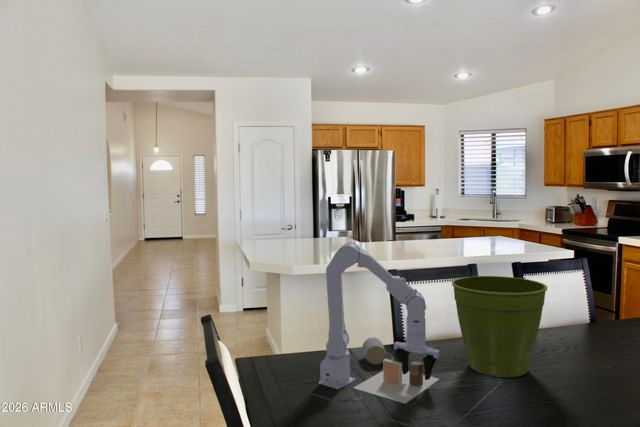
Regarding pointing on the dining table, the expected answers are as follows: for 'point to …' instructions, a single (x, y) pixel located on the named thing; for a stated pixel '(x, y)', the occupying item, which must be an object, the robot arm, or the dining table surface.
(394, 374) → the tile
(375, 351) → the ceramic mug
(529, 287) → the plant pot
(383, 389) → the mat
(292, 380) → the dining table surface
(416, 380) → the wooden block
